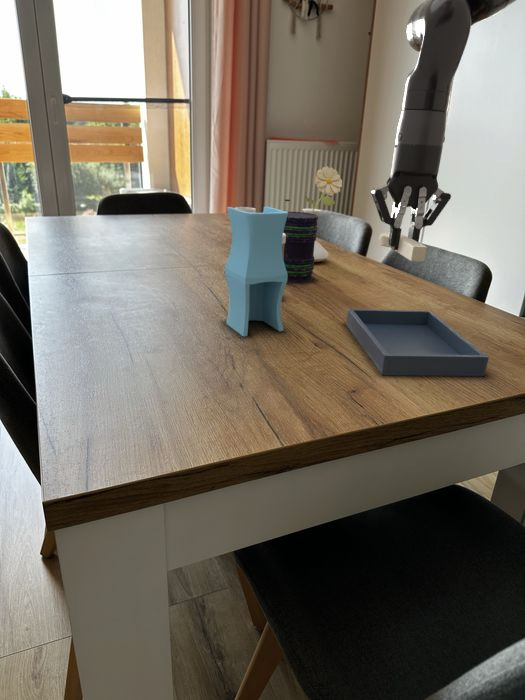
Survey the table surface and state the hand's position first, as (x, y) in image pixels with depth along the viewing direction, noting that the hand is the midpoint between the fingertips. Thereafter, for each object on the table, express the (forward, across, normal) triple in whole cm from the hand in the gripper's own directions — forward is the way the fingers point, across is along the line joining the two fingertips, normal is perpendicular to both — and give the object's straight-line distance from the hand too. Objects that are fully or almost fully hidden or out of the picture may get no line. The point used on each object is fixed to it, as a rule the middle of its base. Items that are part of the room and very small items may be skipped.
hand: (401, 249), depth 89 cm
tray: (+14, 0, +11) cm, 18 cm away
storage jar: (+14, +14, -33) cm, 39 cm away
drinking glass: (+15, +24, -81) cm, 86 cm away
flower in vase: (+14, +7, -53) cm, 55 cm away
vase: (+14, +25, +2) cm, 29 cm away
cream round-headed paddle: (0, 0, 0) cm, 0 cm away
